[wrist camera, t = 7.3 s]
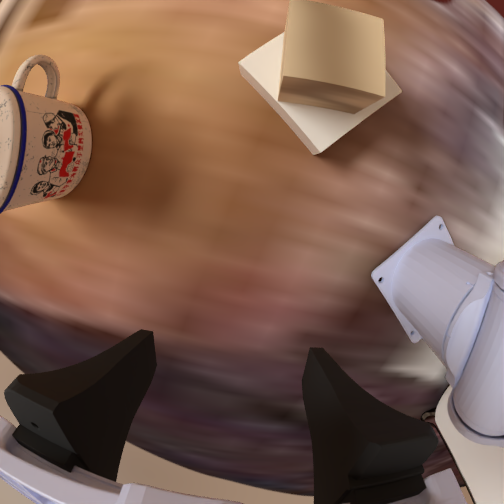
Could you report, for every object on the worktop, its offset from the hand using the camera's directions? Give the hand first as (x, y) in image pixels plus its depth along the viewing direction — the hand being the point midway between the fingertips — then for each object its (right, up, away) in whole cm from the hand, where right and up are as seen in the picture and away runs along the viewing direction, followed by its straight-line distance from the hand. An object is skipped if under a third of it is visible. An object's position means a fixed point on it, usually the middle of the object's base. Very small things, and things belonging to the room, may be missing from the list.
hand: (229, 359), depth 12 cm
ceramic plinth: (+6, +17, +6) cm, 19 cm away
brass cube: (+5, +16, +3) cm, 17 cm away
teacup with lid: (-16, +15, +7) cm, 23 cm away
